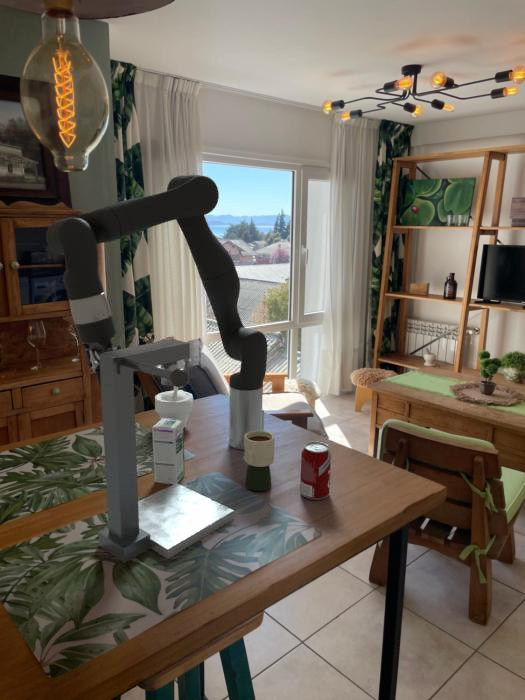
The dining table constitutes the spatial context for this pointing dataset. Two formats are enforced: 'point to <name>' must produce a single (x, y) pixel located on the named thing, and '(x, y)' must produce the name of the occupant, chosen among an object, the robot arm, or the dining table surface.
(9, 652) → the dining table surface
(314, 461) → the soda can
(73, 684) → the dining table surface
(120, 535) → the bench press
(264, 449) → the character mug
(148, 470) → the dining table surface
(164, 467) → the syrup box
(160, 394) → the mortar and pestle
